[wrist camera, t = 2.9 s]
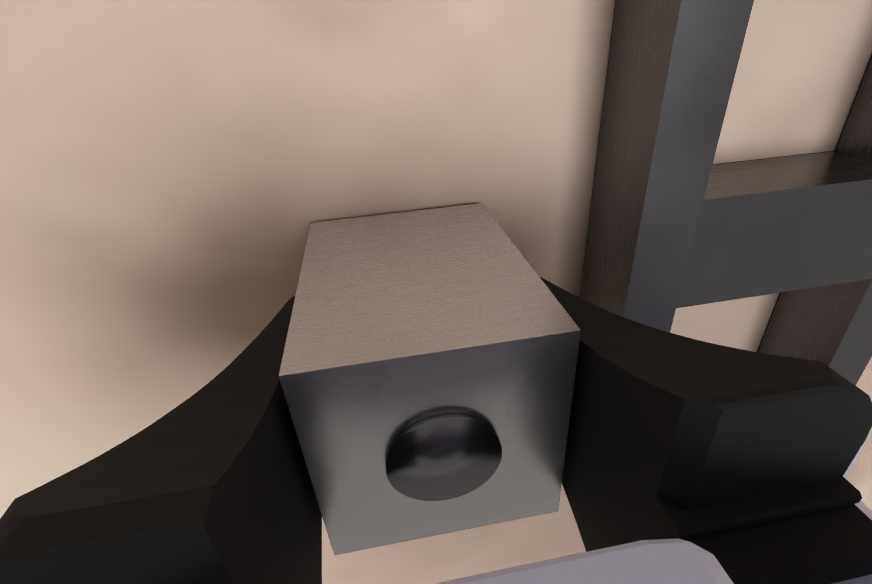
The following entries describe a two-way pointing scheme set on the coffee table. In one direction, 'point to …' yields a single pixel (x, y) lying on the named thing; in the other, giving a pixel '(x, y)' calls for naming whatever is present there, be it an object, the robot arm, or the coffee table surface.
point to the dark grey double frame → (723, 195)
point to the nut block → (426, 376)
